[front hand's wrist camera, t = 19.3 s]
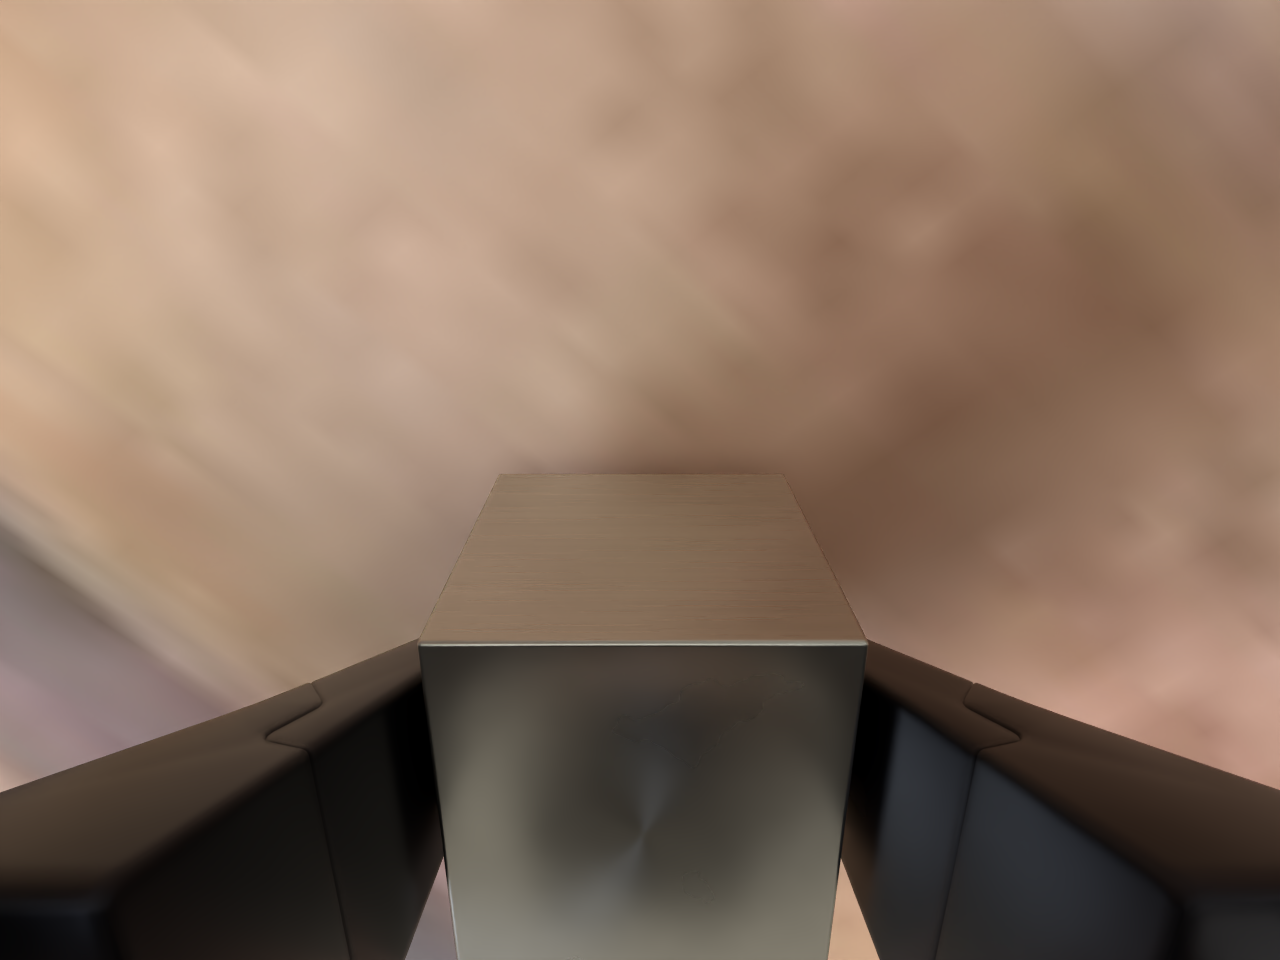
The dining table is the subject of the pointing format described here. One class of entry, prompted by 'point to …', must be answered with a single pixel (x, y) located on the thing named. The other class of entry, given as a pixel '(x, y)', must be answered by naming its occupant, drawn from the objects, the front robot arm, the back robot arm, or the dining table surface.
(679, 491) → the silver metal block
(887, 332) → the dining table surface
